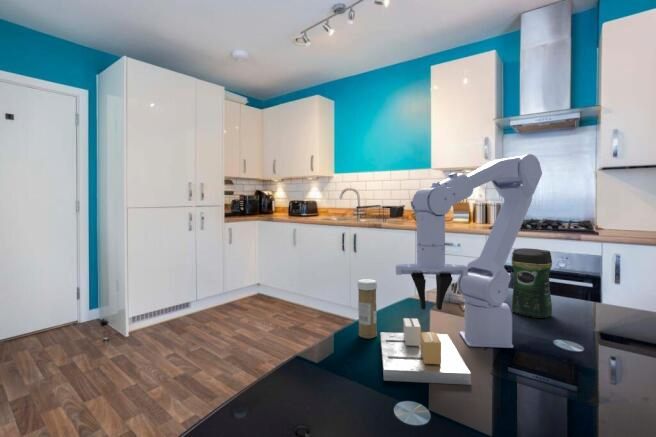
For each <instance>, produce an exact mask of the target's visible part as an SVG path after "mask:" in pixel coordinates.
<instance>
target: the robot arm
mask: <svg viewBox="0 0 656 437" xmlns="http://www.w3.org/2000/svg"><path fill="white" fill-rule="evenodd" d="M542 175H543V172H542V167H541V163H540V161H539V159H538V157H537V156H536V155H535V154H532V153H528V154H525V155H521V156H519V155H518V156H514V157H507V158H496V159H494V160H492V161H488V162H487V163H486V164H484V165H481V166H480V167H478V168H477V169H475V170H473V171H471V172H469V173H468V174H464V173H457V172H451V173H449V174H448V175H447V177H448V178H445V179H442V180H441V181H435V182H432V183H431V186H430V187H425V188H424V187H423V188H420V189H418V190H417V191H416V192H415V194H414V195H413V197H412V200H411V201H410V207H411V209H412V211H413V213H414V215H415V221H416V263H400V264H399V263H397V264H395V274H396V275H398V276H401V275H410V276H411V279H412V281H413V283H414V286H415V288H416V291H417V294H418V298H419V303H420V309H421V310H426V306H427V305H426V283H427V282H426V281H427V280H426V279H425V275H432V276H433V275H435V283H436V296H435V305H436V309H437V310H439V311H442V308H443V304H444V300H445V298H446V294H447V291H448V290H449V288H450V286H451V284H452V282H453V276H455V275H456V276H458V279H457V281H456V286H457V290H458V292H459V293H460V295H461V296H462V300H464V331H463V330H461V331H459V332H458V333H459V335H460V336H461V338H462V339H463V341H464V342H465V343H466V345H467V346H468V347H475V348H476V347H477V348H480V347H481V348H505V349H506V348H507V349H513V348H514V344H513V315H512V309H511V308H510V306H509V304H508V303H506V302H505V301H506V299H507V298H508V295H509V285H510V282H511V280H512V277H511V275H510V274H509V272H508V271H507V269H506V268H505V265H506V262H507V260H508V257H509V255H510V253H511V250H512V249H513V246H514V244H515V241H516V238H517V236H518V234H519V232H520V230H521V227H522V225H523V222H524V221H525V218H526V216H527V213H528V211H529V209H530V206H531V203H532V201H533V196H534V194H535V192H536V190H537V187H538V185H539V182H540V180H541V178H542ZM490 182H491V183H492V185H493V186H494V189H495V190H496V192H497V194H498V195H499V196H500V197H502V198H503V200H504V201H503V203H502V205H501V207H500V210H499V212H498V214H497V217H496V219H495V221H494V223H493V225H492V228H491V230H490V233H489V235H488V236H487V239H486V241H485V244H484V246H483V249H482V251H481V253H480V255H479V257H477V258H476V259H474V260H472V261H470V262H468V263H467V265H466V264H456V263H455V264H453V263H446V215H447V214H449V212H450V211H451V209H452V206H454V205H456V204H458V203H461V202H462V201H464V200H466V199H467V198H468V199H469V198H470V197H471V196H472V195H473V193H474V189H476V188H478V187H481V186H482V185H485V184H487V183H490ZM452 275H453V276H452Z"/></svg>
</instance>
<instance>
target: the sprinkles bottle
mask: <svg viewBox="0 0 656 437" xmlns="http://www.w3.org/2000/svg"><path fill="white" fill-rule="evenodd" d="M377 287H378V282H377V280H375V279H372V278H362V279H359V280H357V289H358V291H357V292H358V301H357V303H358V304H357V305H358V306H357V308H358V315H357V316H358V336H359V337H360V338H363V339H373V338H377V336H378V331H377V329H378V328H377V320H378V319H377V318H378V317H377V314H378V313H377V311H378V310H377V289H378V288H377Z"/></svg>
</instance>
